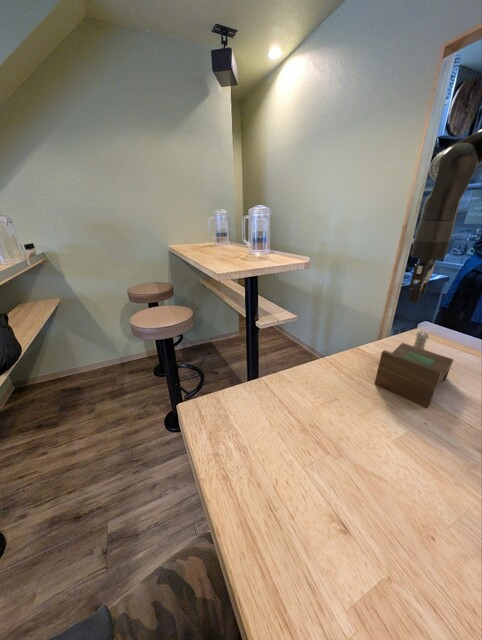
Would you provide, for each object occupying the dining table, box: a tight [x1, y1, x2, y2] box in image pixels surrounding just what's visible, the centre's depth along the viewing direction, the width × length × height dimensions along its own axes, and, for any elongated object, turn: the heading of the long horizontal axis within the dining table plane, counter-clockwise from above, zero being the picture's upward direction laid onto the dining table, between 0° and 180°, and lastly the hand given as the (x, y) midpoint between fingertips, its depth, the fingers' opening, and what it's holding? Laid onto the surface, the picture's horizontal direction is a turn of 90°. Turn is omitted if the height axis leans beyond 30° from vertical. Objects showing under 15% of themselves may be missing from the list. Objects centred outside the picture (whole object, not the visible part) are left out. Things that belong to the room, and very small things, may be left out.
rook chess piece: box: [412, 330, 430, 350], centre depth 75 cm, size 4×4×8 cm
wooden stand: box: [374, 342, 455, 409], centre depth 65 cm, size 16×12×10 cm
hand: (416, 298), depth 71 cm, fingers open, 8 cm apart
